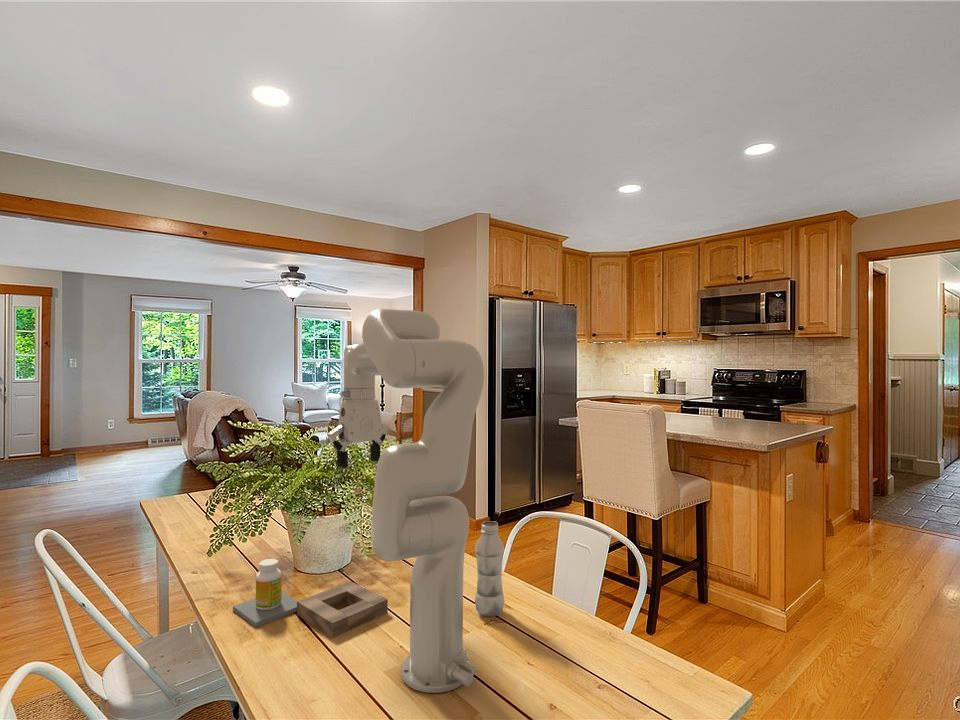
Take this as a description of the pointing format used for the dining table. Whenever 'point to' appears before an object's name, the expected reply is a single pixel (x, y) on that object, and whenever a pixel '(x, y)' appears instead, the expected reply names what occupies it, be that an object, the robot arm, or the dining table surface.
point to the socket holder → (336, 622)
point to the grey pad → (265, 616)
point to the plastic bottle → (489, 571)
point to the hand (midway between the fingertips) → (359, 464)
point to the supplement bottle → (268, 585)
